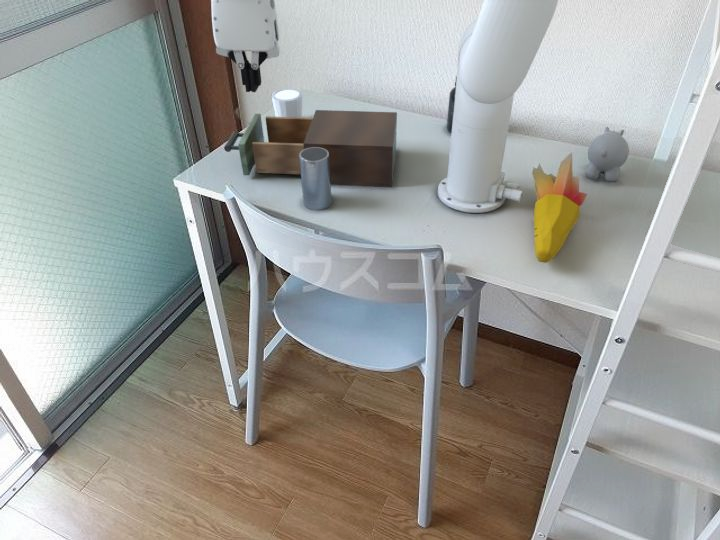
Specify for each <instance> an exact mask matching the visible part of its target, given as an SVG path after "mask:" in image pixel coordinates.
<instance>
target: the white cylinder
mask: <svg viewBox="0 0 720 540" xmlns="http://www.w3.org/2000/svg"><path fill="white" fill-rule="evenodd" d="M271 101H272V106H273V110H274V114H275V117H303V93H302V91H300V90H299V89H296V88H282V89H279V90H275V91H273V92H272V94H271Z"/></svg>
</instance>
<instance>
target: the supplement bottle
mask: <svg viewBox="0 0 720 540" xmlns="http://www.w3.org/2000/svg"><path fill="white" fill-rule="evenodd" d="M456 80H457V75H456V76H455V82H454V87H453V88H451V90H450V91H449V97H448V107H447V118H446V129H447V131H448V133H450V134H452V123H453V114H454V103H455V93H456Z"/></svg>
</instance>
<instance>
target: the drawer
mask: <svg viewBox="0 0 720 540" xmlns="http://www.w3.org/2000/svg"><path fill="white" fill-rule="evenodd" d="M312 119H313V117H303V116H302V117H276V116H269V115H267V116H265V125H266V132H267V133H266V134H267V140H268V141H265V136H264V129H263V122H262V114H261V113H254V115H253V117H252V118H251V120H250V122H249V124H248V126H247V127H246V129H245V130H244V132H239V131H238V130H233V131H232V133H231V135H230V137H229V139H228V140H227V141H226V143H225V144H224V147H223V148H224V151H225V152H227V153H230V152H231V151H238V152H239V158H240V163H241V169H242V175H243V176H250V174H251V172H252V171H253V169H254V166H255V172H256V174H257V173H258V174H279V175H280V174H281V175H282V174H283V175H301V169H300V158H299V154H300V152H301V151H302V150H304V145H303V143H304V141H305V138H306V135H307V133H308V130H309V127H310V125H311V122H312ZM239 138H240V139H239ZM238 139H239V142H238V144H237V145H235V144H236V142H237V141H238Z"/></svg>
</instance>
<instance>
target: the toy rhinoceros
mask: <svg viewBox="0 0 720 540" xmlns="http://www.w3.org/2000/svg"><path fill="white" fill-rule="evenodd" d="M624 132H625V129H620V130H619V131H616V130H611V129H610V127H609V126H605V128H604V133H601V134H599V135H598V136H596V137H595V138H594V139H593V140H591V142H590V144H589V146H588V150H587V158H588V160H589V161H588V164H587V168H586V170H585V172H584V175H585V177H586V178H588V179H590V180H597V179H598V178H599V177H600V174H601V175H604V180H606V181H607V182H610V183H615V182H617V181H618V180H619V178H620V174H621V173H620V169H621V167H622V166H623V165H625V163H626V161H627V160H628V157H629V156H630V155H629V154H630V146H629V144H628V143H629V142H627V140H626V139H625V138H624V137H623V135H624Z"/></svg>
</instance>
